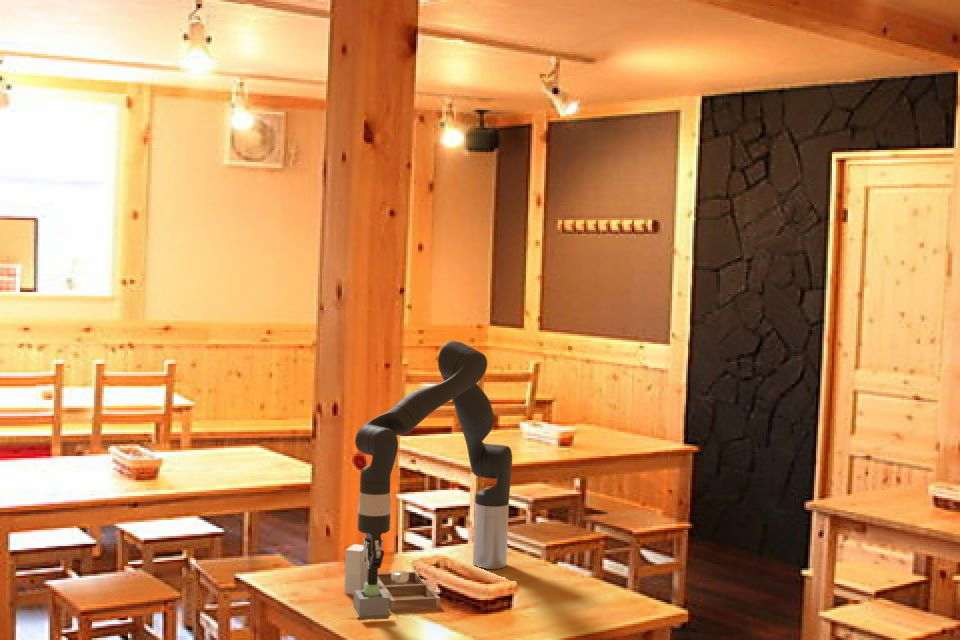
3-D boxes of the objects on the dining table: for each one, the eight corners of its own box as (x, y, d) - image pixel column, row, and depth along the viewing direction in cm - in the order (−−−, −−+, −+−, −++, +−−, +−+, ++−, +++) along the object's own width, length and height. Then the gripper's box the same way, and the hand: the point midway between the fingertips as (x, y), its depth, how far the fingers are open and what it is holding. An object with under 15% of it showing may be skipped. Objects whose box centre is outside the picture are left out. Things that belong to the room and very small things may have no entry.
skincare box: (352, 590, 302) (353, 543, 302) (368, 592, 301) (369, 545, 301) (343, 597, 297) (344, 549, 296) (359, 599, 295) (361, 551, 295)
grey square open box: (353, 611, 286) (354, 590, 286) (382, 609, 288) (383, 588, 288) (359, 620, 279) (359, 599, 279) (388, 618, 281) (389, 597, 281)
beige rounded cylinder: (389, 586, 304) (389, 571, 303) (406, 585, 305) (406, 570, 304) (392, 591, 299) (393, 576, 299) (410, 591, 301) (410, 575, 300)
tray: (371, 587, 306) (371, 573, 306) (417, 584, 310) (417, 571, 309) (390, 615, 284) (391, 600, 284) (439, 612, 288) (440, 598, 287)
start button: (362, 598, 285) (362, 581, 284) (377, 597, 286) (377, 581, 286) (365, 603, 281) (365, 586, 281) (380, 602, 282) (381, 585, 282)
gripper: (396, 517, 277) (393, 591, 278) (384, 504, 289) (381, 575, 291) (364, 518, 275) (361, 592, 276) (353, 505, 287) (351, 576, 288)
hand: (372, 583), depth 283 cm, fingers closed
